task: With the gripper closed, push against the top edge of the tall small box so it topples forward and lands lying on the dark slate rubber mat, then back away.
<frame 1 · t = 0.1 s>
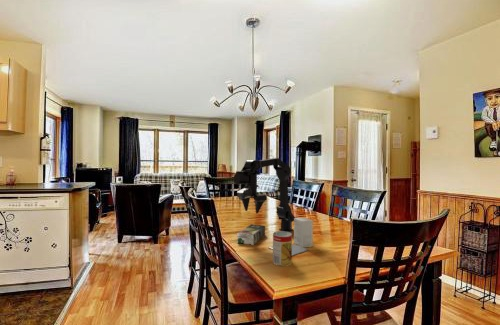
hand: (251, 212, 143), 15 cm above the table, fingers open, 9 cm apart
juice carton: (251, 239, 143), on the table
small box: (303, 245, 133), on the table
mat: (288, 249, 126), on the table
canned food: (282, 262, 111), on the table
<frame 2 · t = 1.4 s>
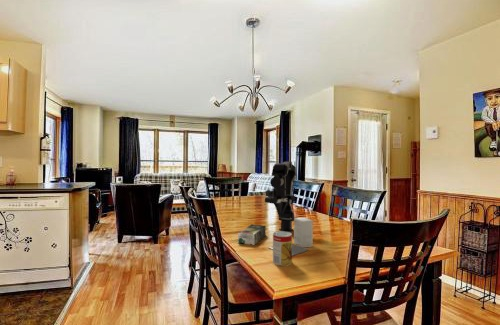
hand: (280, 214, 146), 13 cm above the table, fingers closed
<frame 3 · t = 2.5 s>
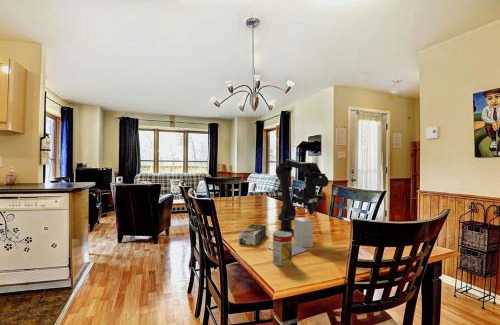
hand: (311, 214, 142), 13 cm above the table, fingers closed
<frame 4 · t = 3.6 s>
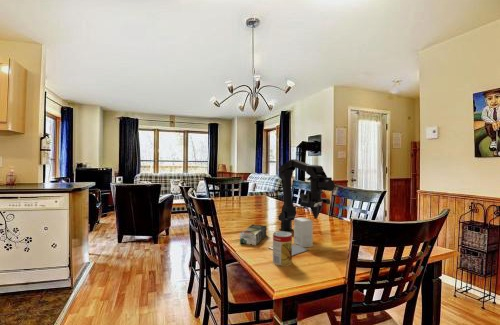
hand: (315, 218, 140), 12 cm above the table, fingers closed
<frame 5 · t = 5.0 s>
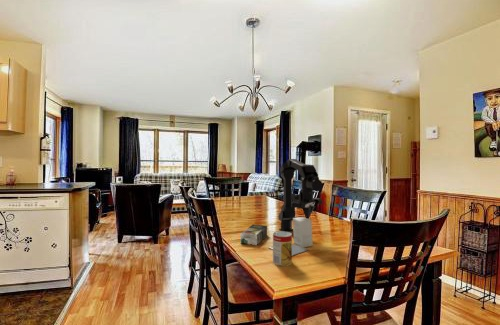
hand: (307, 219, 136), 12 cm above the table, fingers closed
small box: (303, 244, 133), on the table, touching gripper
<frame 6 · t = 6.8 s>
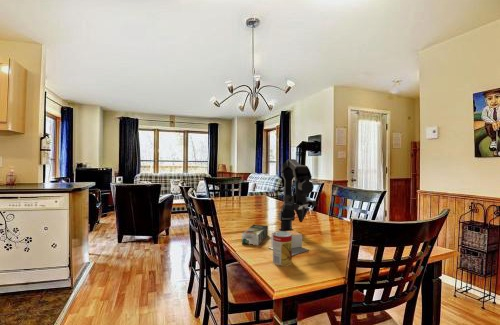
hand: (300, 222, 132), 12 cm above the table, fingers closed
small box: (298, 238, 133), point 4 cm above the table, touching mat
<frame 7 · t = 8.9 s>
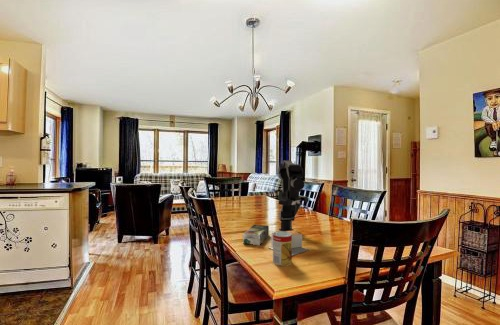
hand: (293, 216, 142), 12 cm above the table, fingers closed
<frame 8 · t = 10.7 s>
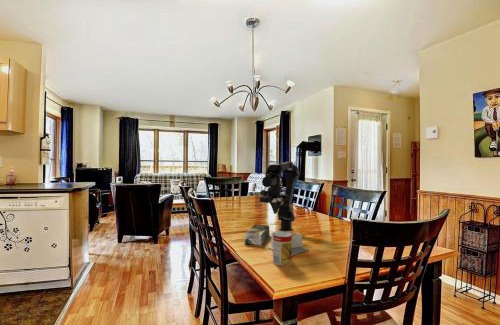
hand: (275, 213, 147), 13 cm above the table, fingers closed
at the end: small box tilted 90°; small box inside the target area (7.5 cm from its centre), point 3.6 cm above the table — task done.
